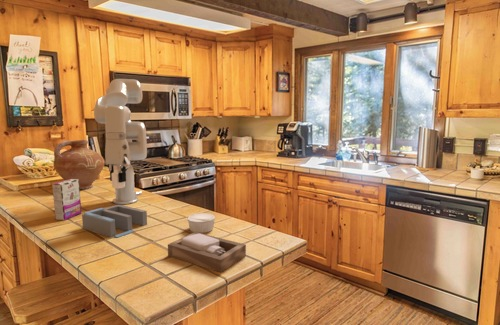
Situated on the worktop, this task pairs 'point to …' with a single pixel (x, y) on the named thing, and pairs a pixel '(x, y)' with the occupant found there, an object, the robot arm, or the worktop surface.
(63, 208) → the candy bar box
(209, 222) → the ramekin
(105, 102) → the robot arm
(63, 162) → the jug
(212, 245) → the charger
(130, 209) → the shelf rack
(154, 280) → the worktop surface
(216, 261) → the dispenser tray
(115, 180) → the pepper shaker
